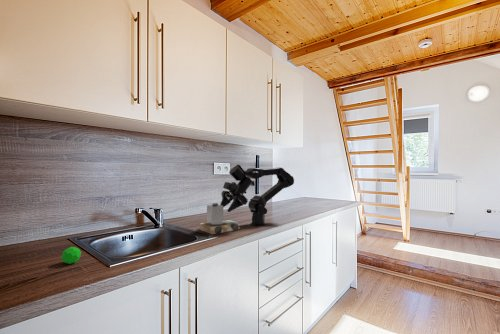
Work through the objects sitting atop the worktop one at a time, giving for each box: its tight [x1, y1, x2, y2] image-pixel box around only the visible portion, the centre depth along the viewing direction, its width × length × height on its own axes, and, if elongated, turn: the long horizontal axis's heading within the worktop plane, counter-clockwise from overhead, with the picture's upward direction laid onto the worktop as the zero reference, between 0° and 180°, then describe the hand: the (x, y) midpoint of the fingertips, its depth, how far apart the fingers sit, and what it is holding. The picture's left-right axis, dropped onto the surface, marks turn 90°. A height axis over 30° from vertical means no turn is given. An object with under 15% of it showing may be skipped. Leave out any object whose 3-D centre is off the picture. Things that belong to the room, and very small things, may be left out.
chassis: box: [199, 219, 241, 235], centre depth 124 cm, size 16×13×3 cm
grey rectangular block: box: [206, 202, 224, 227], centre depth 122 cm, size 6×6×12 cm
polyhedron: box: [61, 246, 82, 265], centre depth 78 cm, size 5×5×5 cm
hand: (223, 210), depth 125 cm, fingers open, 9 cm apart
